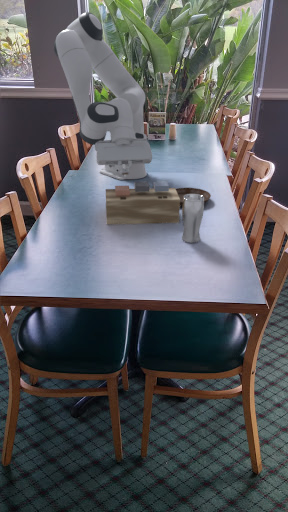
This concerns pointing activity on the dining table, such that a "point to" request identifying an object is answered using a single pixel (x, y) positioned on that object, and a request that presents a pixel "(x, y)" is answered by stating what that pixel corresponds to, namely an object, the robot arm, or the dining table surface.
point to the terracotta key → (122, 190)
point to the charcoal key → (141, 186)
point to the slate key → (161, 186)
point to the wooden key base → (142, 207)
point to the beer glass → (192, 217)
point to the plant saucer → (185, 191)
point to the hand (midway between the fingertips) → (125, 173)
